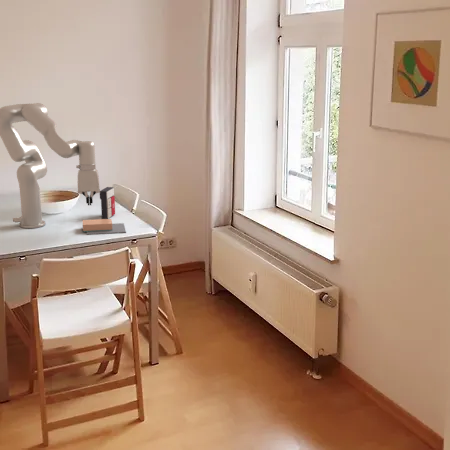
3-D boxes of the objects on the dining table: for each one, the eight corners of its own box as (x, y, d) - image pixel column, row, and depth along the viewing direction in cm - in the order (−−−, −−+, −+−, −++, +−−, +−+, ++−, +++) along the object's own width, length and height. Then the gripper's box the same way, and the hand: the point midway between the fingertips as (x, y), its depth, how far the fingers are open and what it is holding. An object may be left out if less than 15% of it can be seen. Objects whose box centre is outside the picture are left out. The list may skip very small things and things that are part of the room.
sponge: (82, 224, 312) (112, 223, 315) (82, 220, 320) (111, 218, 323) (83, 231, 313) (112, 230, 316) (82, 226, 321) (111, 225, 324)
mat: (86, 234, 310) (86, 233, 310) (86, 225, 325) (86, 224, 325) (125, 232, 314) (125, 231, 314) (123, 224, 329) (123, 223, 329)
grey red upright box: (108, 219, 337) (107, 191, 333) (100, 219, 338) (99, 191, 334) (116, 214, 347) (115, 187, 343) (108, 214, 348) (107, 186, 344)
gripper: (71, 169, 304) (73, 207, 309) (103, 168, 307) (105, 205, 312) (71, 166, 311) (73, 203, 316) (103, 165, 314) (104, 202, 319)
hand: (89, 204), depth 314 cm, fingers closed
